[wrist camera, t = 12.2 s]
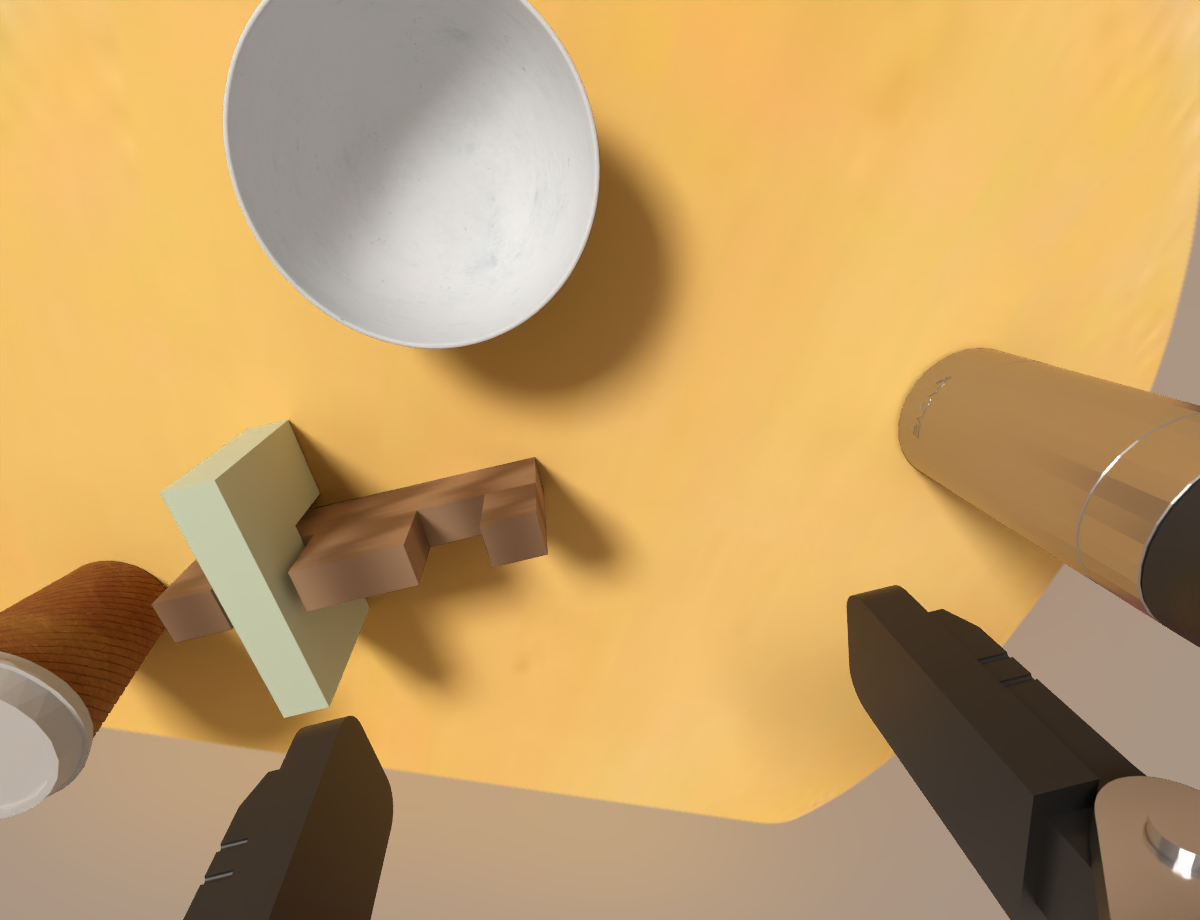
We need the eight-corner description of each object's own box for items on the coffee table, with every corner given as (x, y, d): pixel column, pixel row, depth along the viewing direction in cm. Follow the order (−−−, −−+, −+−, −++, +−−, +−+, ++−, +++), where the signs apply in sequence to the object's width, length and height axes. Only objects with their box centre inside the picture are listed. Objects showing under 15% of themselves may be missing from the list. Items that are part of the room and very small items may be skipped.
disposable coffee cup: (227, 589, 39) (107, 735, 28) (154, 682, 41) (16, 853, 30) (77, 509, 36) (-124, 637, 25) (7, 614, 38) (-208, 776, 27)
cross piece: (246, 429, 35) (159, 492, 27) (288, 419, 35) (214, 480, 27) (333, 616, 41) (283, 717, 32) (369, 608, 41) (329, 707, 32)
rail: (534, 457, 38) (536, 513, 30) (543, 491, 39) (547, 554, 31) (225, 528, 37) (151, 604, 30) (242, 561, 38) (174, 642, 31)
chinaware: (359, 350, 34) (315, 383, 27) (242, 49, 28) (146, -9, 21) (609, 288, 35) (631, 305, 27) (544, -23, 29) (550, -103, 22)
